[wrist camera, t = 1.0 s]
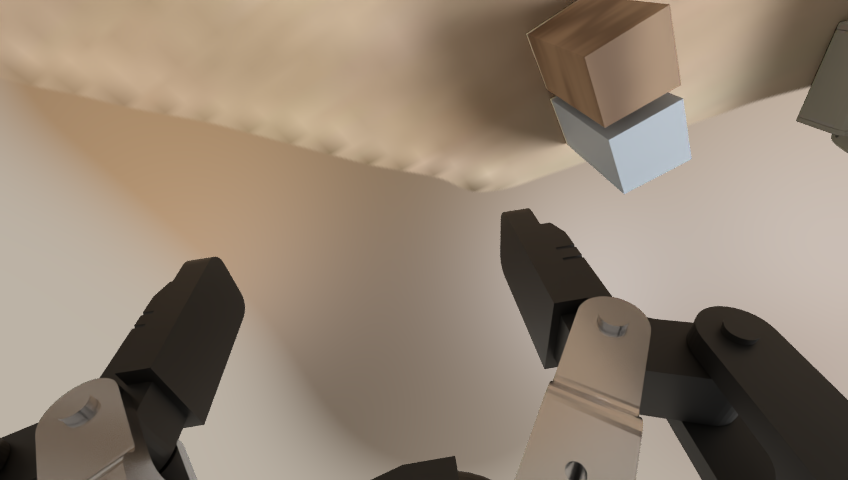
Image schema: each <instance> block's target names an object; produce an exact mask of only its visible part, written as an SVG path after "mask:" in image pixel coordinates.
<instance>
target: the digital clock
mask: <svg viewBox="0 0 848 480" xmlns="http://www.w3.org/2000/svg"><path fill="white" fill-rule="evenodd" d="M796 121H797V122H801V123H803V124H806V125H809V126H812V127H814V128H817V129H820V130H823V131H826V132H829V133H832V136H831V139H832V141H833V142H834V143H835V144H836V145H837V146H838V147H839V148H841V149H842V150H844V151H845V152H847V153H848V21H843V22H840V23H839V24H838V26H837V29H836V31H835V33H834V35H833V38H832V40H831V42H830V45H829V47H828V49H827V51H826V54H825V56H824V58H823V60H822V63H821V65H820V67H819V70H818V72H817V74H816V76H815V79H814V81H813V83H812V86H811V88H810V90H809V92H808V95H807V97H806V99H805V101H804V104H803V106H802V108H801V111H800V113H799V115H798V117H797V120H796Z"/></svg>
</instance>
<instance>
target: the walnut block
mask: <svg viewBox="0 0 848 480" xmlns="http://www.w3.org/2000/svg"><path fill="white" fill-rule="evenodd" d="M526 35H527V38H528V41H529V44H530V46H531V49H532V52H533V54H534V57H535V60H536V62H537V65H538V68H539V71H540V73H541V76H542V79H543V81H544V84H545V87H546V89H547V90H548V91H550V92H552V93H553V94H555V95H556V96H558V97H559V98H561V99H562V100H564V101H565V102H567V103H568V104H570V105H571V106H573V107H574V108H576V109H577V110H579V111H580V112H582V113H583V114H585V115H586V116H588V117H589V118H591V119H592V120H594V121H595V122H597V123H598V124H600V125H601V126H603V127H604V128H606V127H608V126H609V125H611V124H613V123H615V122H616V121H618V120H620V119H622V118H624V117H625V116H627V115H629V114H631V113H632V112H634V111H636V110H638V109H639V108H641V107H643V106H645V105H646V104H648V103H650V102H652V101H654V100H655V99H657V98H659V97H661V96H662V95H664V94H666V93H668V92H669V91H671V90H673V89H675V88H676V87H678V86H680V85H681V80H680V73H679V66H678V59H677V52H676V45H675V38H674V31H673V24H672V17H671V9H670V5H669V4H660V3H651V2H642V1H633V0H577V1H575V2H574V3H572V4H571V5H569V6H568V7H566V8H565V9H563V10H562V11H560V12H559V13H557V14H556V15H554V16H553V17H551V18H549V19H548V20H546V21H545V22H543V23H542V24H540V25H539V26H537V27H536V28H534V29H533V30H531V31H530V32H528V33H527V34H526Z"/></svg>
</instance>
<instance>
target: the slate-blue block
mask: <svg viewBox="0 0 848 480" xmlns="http://www.w3.org/2000/svg"><path fill="white" fill-rule="evenodd" d="M550 100H551V103H552V106H553V108H554V111H555V114H556V116H557V119H558V122H559V124H560V127H561V130H562V133H563V135H564V138H565V141H566V143H567V145H568V146H570V147H571V148H572V149H573V150H574V151H575V152H577V153H578V154H579V155H580V156H581V157H582V158H583V159H585V160H586V161H587V162H588V163H589V164H590V165H592V166H593V167H594V168H595V169H596V170H597V171H598V172H600V173H601V174H602V175H603V176H604V177H605V178H606V179H607V180H609V181H610V182H611V183H612V184H614V186H616V187H617V188H618V189H619V190H620V191H621V192H622V193H624V194H625V193H627V192H629V191H631V190H633V189H635V188H637V187H639V186H641V185H643V184H645V183H647V182H649V181H650V180H652V179H654V178H656V177H658V176H660V175H662V174H664V173H666V172H668V171H669V170H672V169H674V168H675V167H677V166H679V165H681V164H683V163H685V162H687V161H689V160H691V151H690V144H689V137H688V130H687V122H686V115H685V108H684V101H683V98H680V97H678V96H675V95H673V94H670V93H666V94H664V95H662V96H661V97H659V98H657V99H655V100H654V101H652V102H650V103H648V104H646V105H645V106H643V107H641V108H639V109H638V110H636V111H634V112H632V113H631V114H629V115H627V116H625V117H624V118H622V119H620V120H618V121H616V122H615V123H613V124H611V125H609V126H608V127H606V128H604V127H603V126H601V125H600V124H598V123H597V122H595V121H594V120H592V119H591V118H589V117H588V116H586V115H585V114H583V113H582V112H580V111H579V110H577V109H576V108H574V107H573V106H571V105H570V104H568V103H567V102H565V101H564V100H562V99H561V98H559V97H558V96H554V97H553V98H551V99H550Z"/></svg>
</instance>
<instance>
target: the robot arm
mask: <svg viewBox="0 0 848 480" xmlns="http://www.w3.org/2000/svg"><path fill="white" fill-rule="evenodd" d="M500 257H501V265H502V269H503V273H504V275H505V278H506V280H507V282H508V285H509V287H510V290H511V292H512V294H513V297H514V299H515V301H516V304H517V306H518V308H519V311H520V313H521V315H522V317H523V320H524V322H525V325H526V327H527V329H528V332H529V334H530V336H531V339H532V341H533V343H534V345H535V348H536V350H537V353H538V355H539V357H540V360H541V362H542V364H543V367H544V369H548V368H554V367H558V368H557V371H556V374H555V376H554V379H553V381H551V382H550V383H549V385H548V388H547V390H546V393H545V395H544V398H543V401H542V404H541V407H540V410H539V412H538V415H537V418H536V421H535V423H534V426H533V429H532V432H531V435H530V438H529V441H528V443H527V446H526V449H525V452H524V455H523V457H522V460H521V463H520V466H519V469H518V472H517V474H516V477H515V480H636V474H637V467H638V460H639V453H640V446H641V439H642V428H643V420H642V418H641V417H639V414H640V415H646V416H653V417H659V418H666V419H667V421H668V423H669V424H670V426H671V427H672V429H673V431H674V433H675V435H676V436H677V438H678V440H679V441H680V443H681V445H682V447H683V448H684V450H685V452H686V453H687V455H688V457H689V458H690V460H691V462H692V463H693V465H694V467H695V469H696V470H697V472H698V474H699V475H700V477H701V479H702V480H848V400H847V399H846V398H845V397H844V396H843V395H842V394H841V393H840V392H839V391H838V390H837V389H836V388H835V387H834V386H833V385H832V384H831V383H830V382H829V381H828V380H827V379H826V378H825V377H824V376H823V375H822V374H821V373H819V371H817V369H815V368H814V367H813V366H812V365H811V364H810V363H809V362H808V361H807V360H806V359H805V358H804V357H803V356H802V355H801V354H800V353H799V352H798V351H797V350H796V349H795V348H794V347H793V346H792V345H791V344H790V343H789V342H788V341H787V340H786V339H785V338H784V337H783V336H781V334H780V333H779V332H778V331H777V330H775V329H774V328H773V327H772V326H771V325H770V324H768V323H767V322H765V321H764V320H763V319H761V318H759V317H757V316H755V315H753V314H751V313H749V312H746V311H743V310H740V309H736V308H731V307H723V306H716V307H709V308H706V309H704V310H702V311H701V312H700V313H699V314H698V315H697V317H696V319H695V321H694V323H690V322H678V321H668V320H659V319H652V318H648V317H646V316H645V314H644V313H643V312H642V311H641V310H640V309H638V308H637V307H636V306H634V305H632V304H631V303H629V302H627V301H624V300H622V299H619V298H614V297H612V296H611V294H610V293H609V292H608V290H607V289H606V288H605V286H604V285H603V284H602V282H601V281H600V279H599V278H598V277H597V275H596V274H595V272H594V271H593V270H592V268H591V267H590V265H589V264H588V263H587V261H586V260H585V259H584V258H582V255H581V253H580V252H579V251H578V249H577V248H576V247H574V244H573V242H572V241H571V239H570V238H569V237H568V235H567V234H566V233H565V232H564V231H563V230H561V229H559V228H558V227H556V226H555V225H553V224H551V223H545V224H540V223H539V222H538V220H537V219H536V217H535V216H534V214H533V212H532V211H531V210H530V209H529V208H527V209H521V210H515V211H508V212H503V213H502V215H501V245H500ZM244 313H245V304H244V299H243V296H242V294H241V292H240V291H239V289H238V287H237V286H236V284H235V282H234V280H233V278H232V277H231V275H230V273H229V271H228V270H227V268H226V266H225V265H224V263H223V262H222V260H221V259H220V258H218V257H211V258H204V259H198V260H191V261H187V262H185V263H184V264H183V266H182V268H181V269H180V271H179V272H178V274H177V276H176V277H175V279H174V280H173V282H169V283H168V284H167V285H166V286H165V287H164V288H163V289H162V290H160V291H159V292H158V293H157V294H156V295H155V296H154V297H153V298H152V300H151V301H150V303H149V304H148V306H147V307H146V309H145V310H144V312H143V315H142V316H140V318H139V320H138V321H137V322H136V324H135V325H134V326H135V329H132V330H131V332H130V333H129V335H128V336H127V337H126V339H125V340H124V342H123V343H122V345H121V346H120V348H119V350H118V351H117V353H116V354H115V356H114V357H113V359H112V360H111V362H110V363H109V365H108V366H107V368H106V369H105V371H104V372H103V374H102V375H101V377H100V378H98V379H93V380H90V381H87V382H85V383H83V384H81V385H79V386H77V387H75V388H73V389H72V390H70V391H68V392H67V393H66V394H64V395H63V396H62V397H60V398H59V399H58V400H57V401H56V402H55V403H54V404H53V405H52V406H50V407H49V409H48V410H47V411H46V412H45V413H44V415H43V416H42V418H41V419H40V421H39V423H36V424H34V425H32V426H29V427H27V428H24V429H22V430H20V431H17V432H15V433H12V434H10V435H7V436H5V437H2V438H0V480H197V478H196V475H195V473H194V470H193V468H192V465H191V462H190V460H189V457H188V455H187V453H186V450H185V447H184V445H183V443H182V442H181V441H179V440H178V439H179V436H180V434H181V431H182V429H183V428H186V427H193V426H198V425H204V424H205V421H206V418H207V415H208V413H209V410H210V407H211V404H212V402H213V399H214V396H215V394H216V391H217V388H218V385H219V383H220V380H221V377H222V374H223V372H224V369H225V366H226V364H227V361H228V358H229V355H230V353H231V350H232V347H233V344H234V342H235V339H236V336H237V334H238V331H239V328H240V325H241V323H242V320H243V317H244ZM372 480H490V479H488V478H486V477H483V476H480V475H476V474H473V473H469V472H462V471H458V470H457V465H456V459H455V456H452V457H446V458H440V459H435V460H429V461H423V462H417V463H412V464H406V465H402V466H400V467H398V468H395V469H393V470H391V471H389V472H387V473H385V474H382V475H380V476H378V477H376V478H374V479H372Z"/></svg>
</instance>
